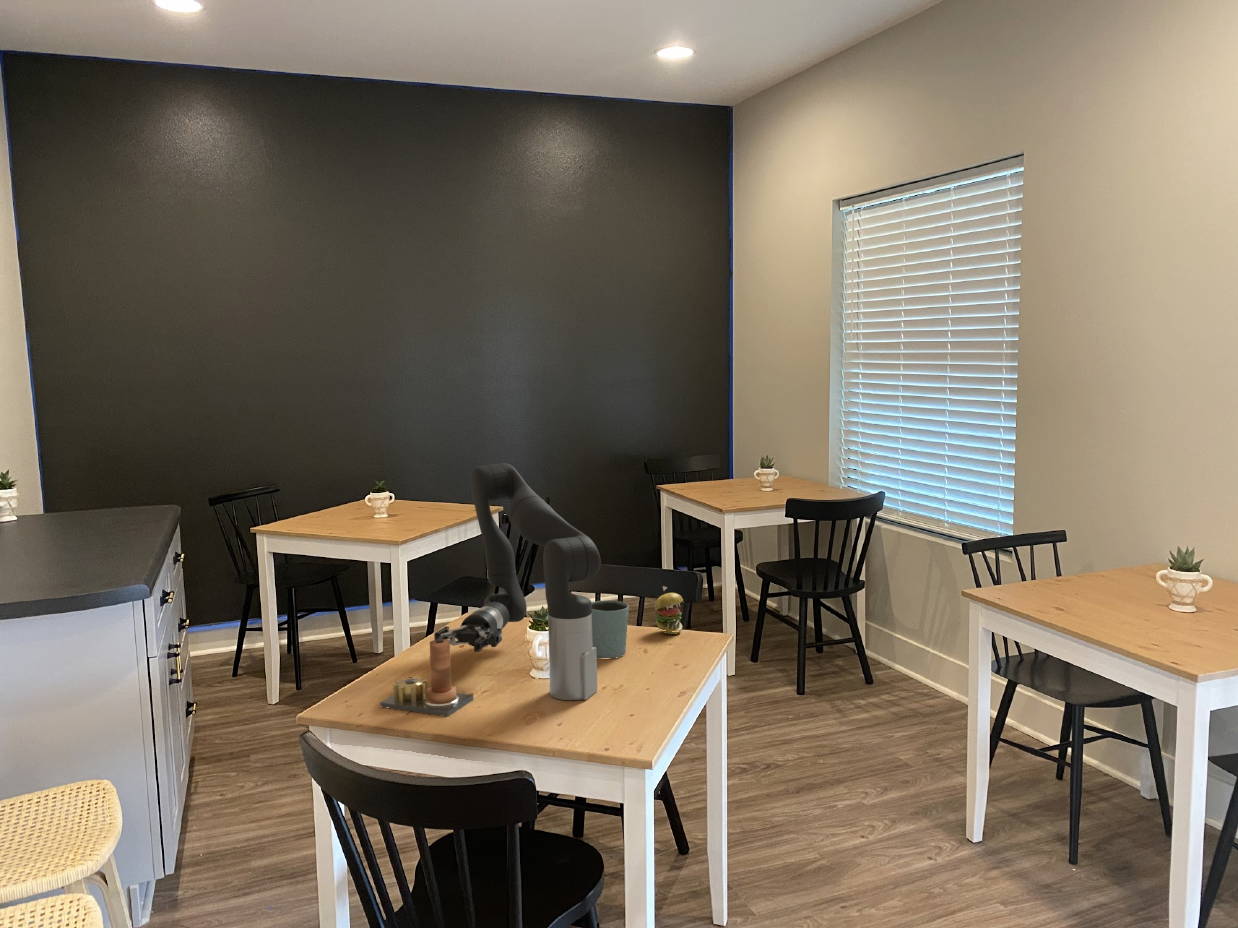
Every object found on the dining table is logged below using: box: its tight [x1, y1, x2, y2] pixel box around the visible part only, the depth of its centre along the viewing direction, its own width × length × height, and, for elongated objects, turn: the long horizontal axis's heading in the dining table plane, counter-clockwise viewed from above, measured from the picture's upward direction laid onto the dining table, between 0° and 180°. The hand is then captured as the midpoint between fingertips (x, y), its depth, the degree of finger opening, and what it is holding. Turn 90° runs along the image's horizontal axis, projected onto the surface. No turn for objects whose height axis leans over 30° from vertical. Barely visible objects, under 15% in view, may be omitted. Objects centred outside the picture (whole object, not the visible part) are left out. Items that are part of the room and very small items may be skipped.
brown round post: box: [426, 639, 457, 704], centre depth 186 cm, size 6×6×12 cm
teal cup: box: [591, 600, 630, 659], centre depth 219 cm, size 10×10×12 cm
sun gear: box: [392, 676, 428, 702], centre depth 190 cm, size 7×7×3 cm
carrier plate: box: [379, 692, 474, 717], centre depth 188 cm, size 16×10×1 cm, turn 69°
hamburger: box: [654, 585, 684, 635], centre depth 237 cm, size 8×7×12 cm
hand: (456, 646), depth 195 cm, fingers open, 8 cm apart
